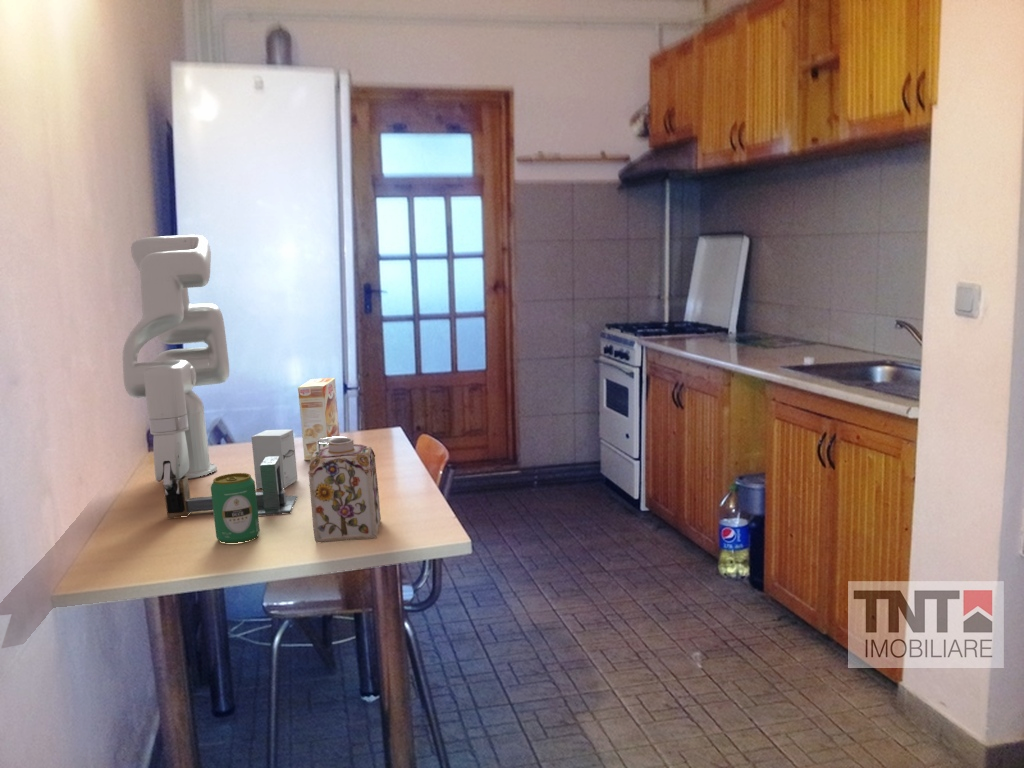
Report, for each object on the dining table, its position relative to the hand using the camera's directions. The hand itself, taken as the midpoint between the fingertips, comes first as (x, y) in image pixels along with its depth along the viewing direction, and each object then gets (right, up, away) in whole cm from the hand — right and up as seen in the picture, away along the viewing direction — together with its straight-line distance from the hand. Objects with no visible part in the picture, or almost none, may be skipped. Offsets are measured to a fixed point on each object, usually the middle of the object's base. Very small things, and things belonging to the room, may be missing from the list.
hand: (178, 508), depth 188 cm
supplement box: (+15, +2, +21) cm, 26 cm away
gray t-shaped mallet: (+10, -1, +1) cm, 10 cm away
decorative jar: (+39, -2, -17) cm, 43 cm away
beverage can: (+18, -4, -18) cm, 26 cm away
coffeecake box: (+20, +7, +51) cm, 55 cm away
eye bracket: (+20, 0, +2) cm, 20 cm away
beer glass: (+34, 0, -3) cm, 35 cm away
